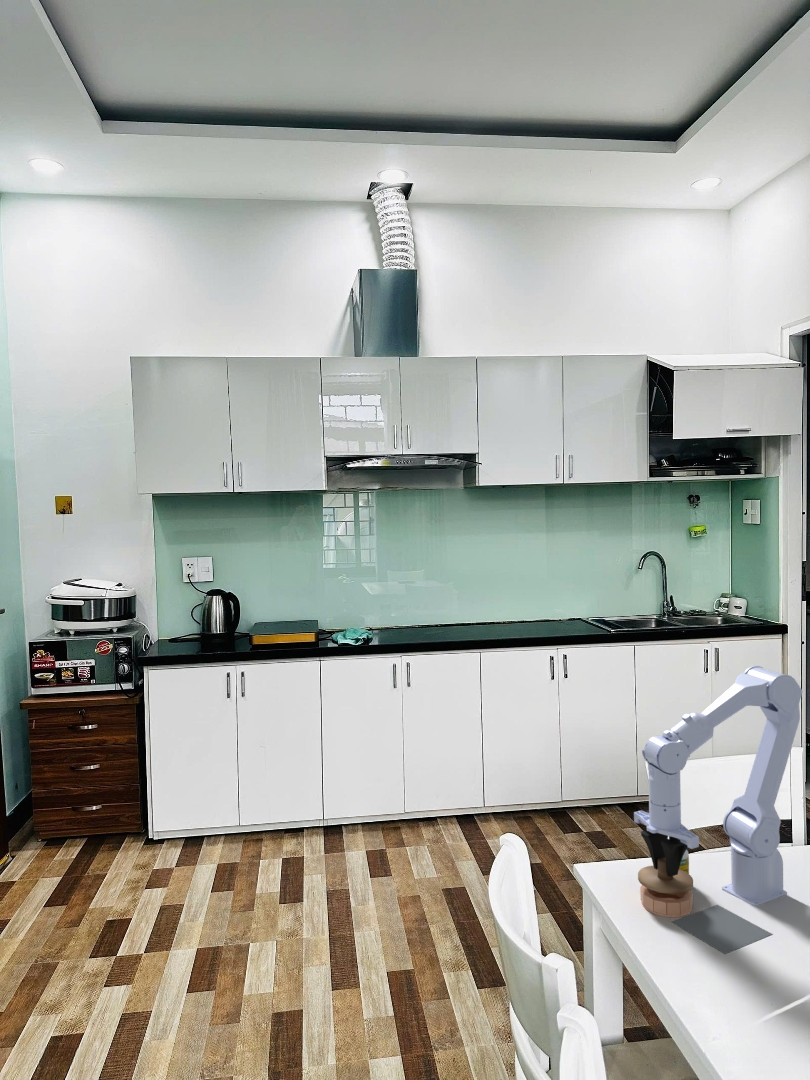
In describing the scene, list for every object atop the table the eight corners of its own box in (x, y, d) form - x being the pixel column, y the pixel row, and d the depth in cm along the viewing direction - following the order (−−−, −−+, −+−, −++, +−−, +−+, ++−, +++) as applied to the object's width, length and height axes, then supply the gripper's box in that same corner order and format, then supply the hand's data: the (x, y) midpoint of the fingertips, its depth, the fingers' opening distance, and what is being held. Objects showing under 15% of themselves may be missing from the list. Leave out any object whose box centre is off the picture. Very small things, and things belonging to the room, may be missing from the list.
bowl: (666, 890, 157) (665, 875, 157) (702, 910, 149) (702, 894, 149) (631, 902, 153) (630, 886, 153) (667, 923, 145) (666, 907, 145)
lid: (666, 865, 158) (666, 845, 157) (705, 886, 149) (705, 865, 148) (626, 875, 153) (626, 855, 153) (664, 898, 144) (664, 876, 144)
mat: (717, 906, 150) (717, 904, 150) (772, 936, 140) (772, 934, 140) (671, 923, 145) (671, 921, 145) (724, 956, 134) (724, 953, 134)
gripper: (621, 793, 155) (622, 861, 155) (678, 818, 142) (679, 892, 143) (648, 786, 158) (649, 853, 159) (706, 810, 145) (707, 883, 146)
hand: (665, 871), depth 151 cm, fingers closed on lid, 3 cm apart
